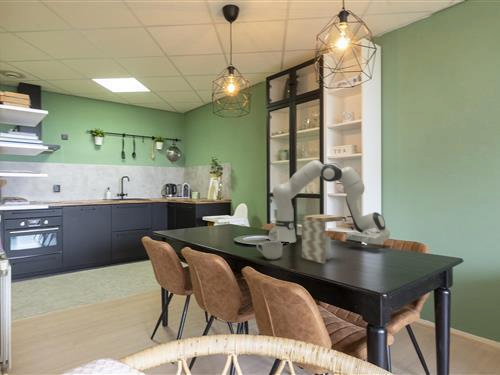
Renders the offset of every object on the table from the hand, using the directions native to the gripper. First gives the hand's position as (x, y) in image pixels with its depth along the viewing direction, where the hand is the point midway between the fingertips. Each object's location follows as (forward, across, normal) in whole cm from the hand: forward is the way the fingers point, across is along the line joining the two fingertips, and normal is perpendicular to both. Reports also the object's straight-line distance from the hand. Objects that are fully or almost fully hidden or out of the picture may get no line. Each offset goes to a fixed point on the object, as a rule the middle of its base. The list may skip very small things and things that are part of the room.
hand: (354, 239), depth 172 cm
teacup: (+47, -17, +8) cm, 51 cm away
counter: (+26, 0, +7) cm, 27 cm away
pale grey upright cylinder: (+24, 0, +7) cm, 25 cm away
